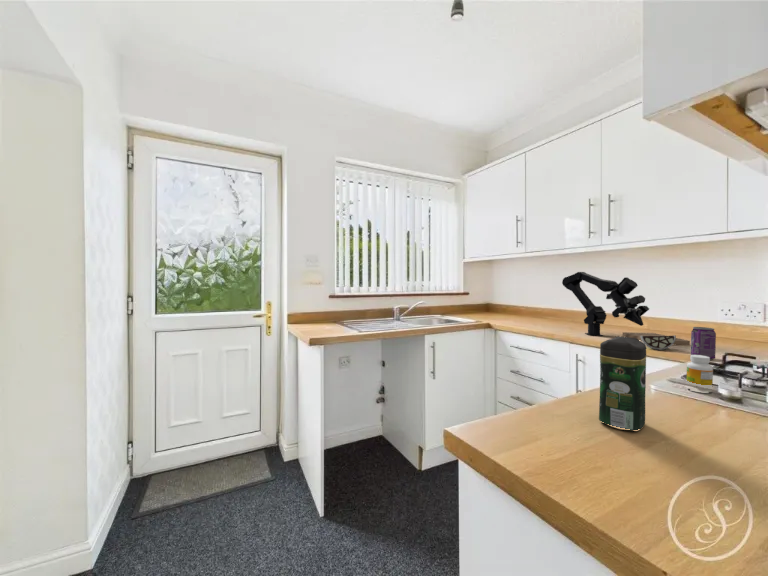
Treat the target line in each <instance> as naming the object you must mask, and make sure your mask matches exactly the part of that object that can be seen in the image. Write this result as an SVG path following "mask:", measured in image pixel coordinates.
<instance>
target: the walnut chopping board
mask: <svg viewBox="0 0 768 576" xmlns="http://www.w3.org/2000/svg"><path fill="white" fill-rule="evenodd" d="M624 336H625V337H629V338H636V339H638V340H641V337H640V336H666V335H665V334H660V333H656V332H627V331H625V332H622V336H621V337H624ZM641 342H643V341H642V340H641ZM674 344H676V345H675V346H691V340H687V339H683V338H680V337H679V338H678V337H676V339H675V342H674Z"/></svg>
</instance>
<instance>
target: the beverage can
mask: <svg viewBox="0 0 768 576" xmlns="http://www.w3.org/2000/svg"><path fill="white" fill-rule="evenodd" d="M690 334H691V335H690V356H691V355H702V356H707V357H710V361H712V360H713V359H716V349H717V348H716V346H717V339H716V338H717V333H716V331H715V328H713V327H707V326H706V327H704V326H693V327H692V330H691V331H690Z"/></svg>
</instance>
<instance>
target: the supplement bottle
mask: <svg viewBox="0 0 768 576" xmlns="http://www.w3.org/2000/svg"><path fill="white" fill-rule="evenodd" d="M689 360H690V362H687V364H686V380H687V381H689V382H692V383H696V384H701V385H712V384H713V383H714V382H713V380H714V367H713V366H712V365H711V364H709V363H710V362H711V360H710V357H707V356H702V355H691V354H690V359H689ZM686 380H685V381H686ZM713 385H714V384H713Z"/></svg>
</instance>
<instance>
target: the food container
mask: <svg viewBox="0 0 768 576" xmlns="http://www.w3.org/2000/svg"><path fill="white" fill-rule="evenodd" d="M640 337H641V340H642V341H641V342H642V343H644V344H645V345H646V347H647V348H650V349H652V350H657V351H664V350H667V349H669V348H671V347H672V346H674V345H673V344H674V342H675V339H676V338H677V336H676V335H665V336H640Z"/></svg>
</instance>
